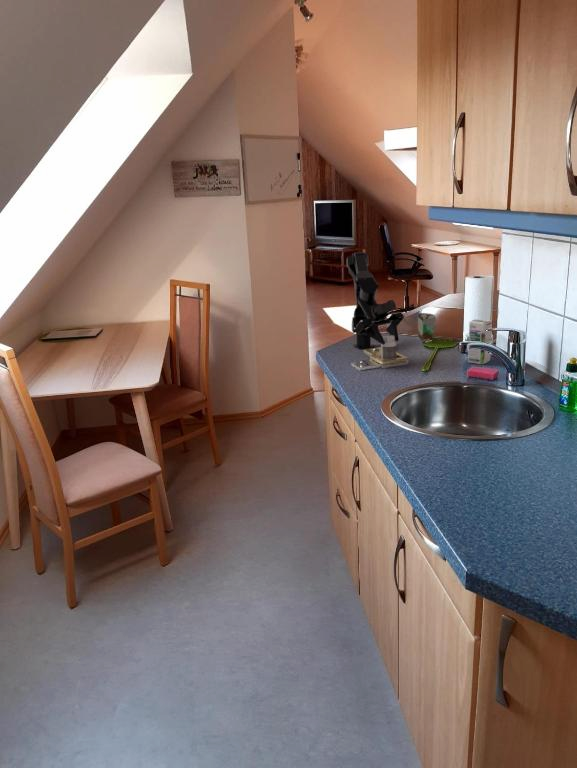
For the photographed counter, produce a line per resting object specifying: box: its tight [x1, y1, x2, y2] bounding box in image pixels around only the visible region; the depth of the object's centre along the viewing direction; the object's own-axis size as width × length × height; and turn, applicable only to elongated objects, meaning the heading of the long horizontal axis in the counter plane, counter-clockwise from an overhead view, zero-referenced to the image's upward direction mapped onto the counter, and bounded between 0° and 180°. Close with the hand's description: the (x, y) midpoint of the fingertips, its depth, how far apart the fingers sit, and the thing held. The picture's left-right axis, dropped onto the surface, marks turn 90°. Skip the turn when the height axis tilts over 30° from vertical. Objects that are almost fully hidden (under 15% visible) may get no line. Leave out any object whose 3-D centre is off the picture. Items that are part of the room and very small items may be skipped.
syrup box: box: [467, 318, 493, 365], centre depth 209 cm, size 6×6×14 cm
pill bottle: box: [380, 334, 397, 360], centre depth 215 cm, size 5×5×10 cm
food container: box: [417, 312, 437, 345], centre depth 241 cm, size 12×6×10 cm, turn 179°
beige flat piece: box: [350, 346, 409, 371], centre depth 219 cm, size 18×18×3 cm
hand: (391, 342), depth 213 cm, fingers open, 6 cm apart
